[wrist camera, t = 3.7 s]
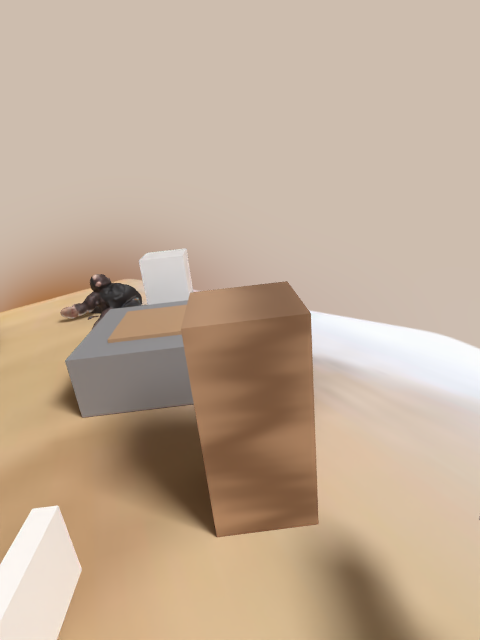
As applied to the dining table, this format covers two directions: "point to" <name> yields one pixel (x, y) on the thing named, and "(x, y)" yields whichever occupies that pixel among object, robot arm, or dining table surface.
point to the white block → (166, 276)
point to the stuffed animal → (104, 298)
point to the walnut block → (254, 405)
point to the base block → (132, 361)
